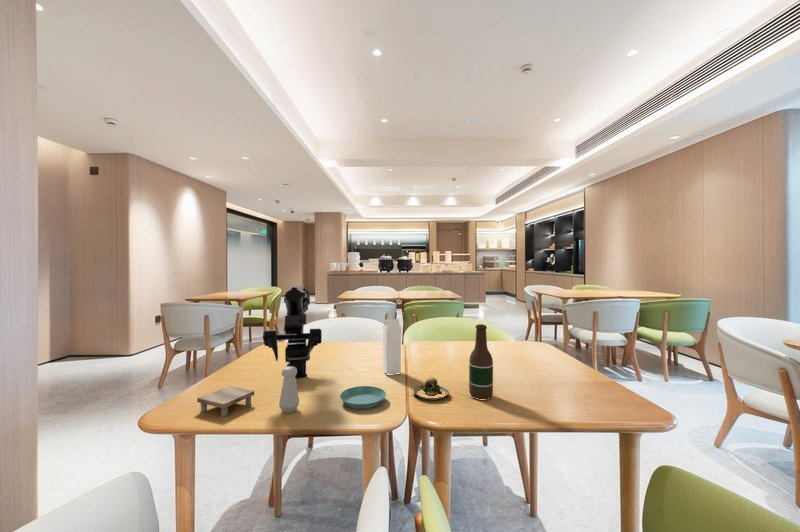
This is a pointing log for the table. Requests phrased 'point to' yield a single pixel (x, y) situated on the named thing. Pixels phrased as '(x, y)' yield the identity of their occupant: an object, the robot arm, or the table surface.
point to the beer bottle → (481, 367)
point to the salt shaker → (289, 391)
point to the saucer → (362, 397)
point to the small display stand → (225, 398)
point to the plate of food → (431, 388)
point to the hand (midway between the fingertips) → (291, 359)
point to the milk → (392, 346)
